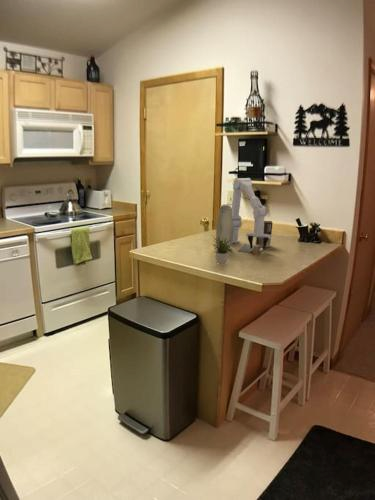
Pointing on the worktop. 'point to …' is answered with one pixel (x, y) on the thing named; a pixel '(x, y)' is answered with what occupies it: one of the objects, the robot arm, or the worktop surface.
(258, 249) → the spatula
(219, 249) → the house plant
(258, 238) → the coffee box
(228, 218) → the grey rounded cylinder
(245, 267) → the worktop surface
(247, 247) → the mat
